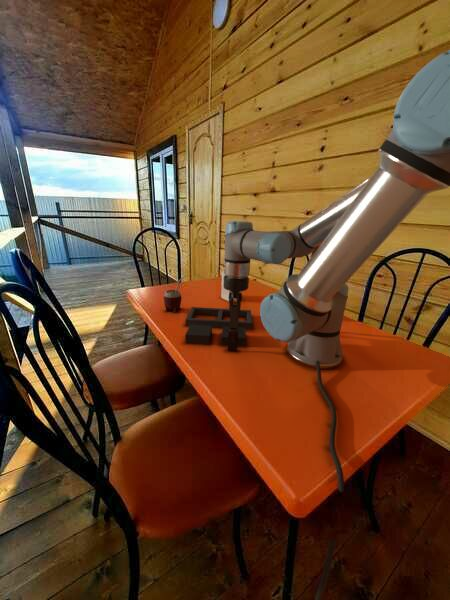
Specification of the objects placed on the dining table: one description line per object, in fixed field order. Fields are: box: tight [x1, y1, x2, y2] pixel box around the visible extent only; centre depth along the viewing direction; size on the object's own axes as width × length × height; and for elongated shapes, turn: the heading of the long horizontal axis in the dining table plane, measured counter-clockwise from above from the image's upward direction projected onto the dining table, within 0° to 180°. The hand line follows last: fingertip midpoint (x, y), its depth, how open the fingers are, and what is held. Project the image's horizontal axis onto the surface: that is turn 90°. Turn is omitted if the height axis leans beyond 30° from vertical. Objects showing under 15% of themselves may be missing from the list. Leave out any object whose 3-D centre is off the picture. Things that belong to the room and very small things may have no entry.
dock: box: [185, 306, 253, 331], centre depth 96 cm, size 13×24×2 cm, turn 87°
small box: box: [220, 270, 243, 302], centre depth 120 cm, size 8×6×13 cm
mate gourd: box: [163, 275, 187, 314], centre depth 102 cm, size 8×8×15 cm
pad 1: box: [185, 325, 213, 346], centre depth 82 cm, size 8×8×3 cm
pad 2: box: [220, 326, 247, 348], centre depth 82 cm, size 8×8×3 cm
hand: (232, 339), depth 82 cm, fingers open, 13 cm apart
